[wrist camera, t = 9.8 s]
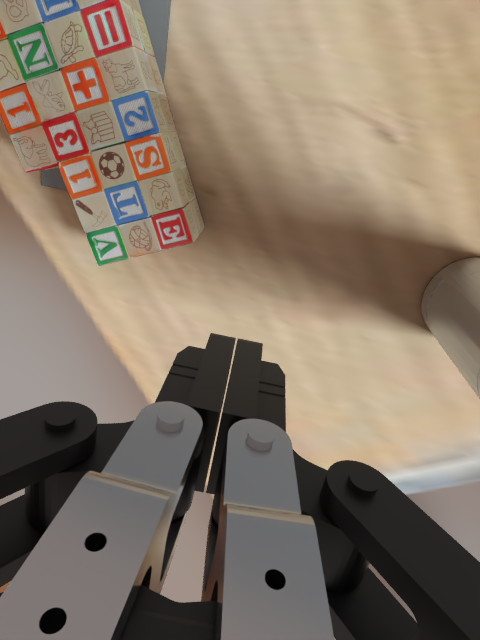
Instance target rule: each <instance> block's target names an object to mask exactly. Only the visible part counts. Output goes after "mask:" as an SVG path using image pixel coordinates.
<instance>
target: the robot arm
mask: <svg viewBox="0 0 480 640" xmlns="http://www.w3.org/2000/svg"><path fill="white" fill-rule="evenodd" d="M421 311H422V315H423V319H424V321H425V323H426V325H427V327H428V328H429V329H430V331H431V332H432V334H433V335H434V336H435V338H436V339H437V340H438V342H439V344H440V345H441V346H442V348H443V349H444V350H445V352H446V353H447V355H448V356H449V357H450V359H451V360H452V362H453V363H454V364H455V366H456V367H457V368H458V370H459V371H460V373H461V374H462V375H463V377H464V378H465V379H466V381H467V382H468V384H469V385H470V386H471V388H472V389H473V391H474V392H475V393H476V395H477V396H478V397H479V399H480V257H472V258H467V259H462V260H459V261H457V262H454V263H452V264H450V265H448V266H447V267H445V268H443V269H442V270H441V271H440V272H439V273H437V274H436V275H435V276H434V277H433V279H432V280H431V281H430V282H429V284H428V286H427V288H426V290H425V292H424V294H423V298H422V306H421ZM235 339H236V338H233V337H228V336H223V335H218V334H213V333H211V334H210V337H209V340H208V343H207V346H206V348H205V349H202V348H197V347H192V346H188V347H187V348H185V349H184V350H182V351H181V352H179V353H178V354H177V356H176V358H175V360H174V362H173V366H172V367H171V369H170V371H169V374H168V375H167V378H166V380H165V382H164V384H163V386H162V388H161V391H160V393H159V395H158V397H157V399H156V401H155V403H153V404H150V405H148V406H146V407H145V408H144V409H142V410H141V412H140V413H139V414H138V416H137V418H136V419H135V420H134V421H131V422H126V423H116V424H115V423H114V424H97V417H96V415H95V413H94V412H93V411H92V410H91V409H90V408H88V407H87V406H85V405H82V404H79V403H75V402H54V403H49V404H46V405H42V406H40V407H36V408H33V409H30V410H28V411H24V412H21V413H18V414H16V415H13V416H10V417H7V418H4V419H1V420H0V499H2V498H4V497H6V496H8V495H10V494H13V493H15V492H17V491H19V490H21V489H24V488H25V494H24V495H22V496H20V497H18V498H16V499H14V500H12V501H10V502H7V503H5V504H3V505H1V506H0V587H1V586H3V585H5V584H6V583H8V582H9V581H11V580H12V581H11V582H10V584H9V585H8V587H7V588H6V590H5V591H4V592H2V593H0V640H334V637H335V639H336V640H480V562H479V561H477V559H475V558H474V557H473V556H472V555H471V554H470V553H468V551H467V550H465V549H464V548H463V547H462V546H461V545H460V544H459V543H458V542H457V541H456V540H454V539H453V538H452V537H451V536H450V535H449V534H448V533H447V532H446V531H445V530H443V529H442V528H441V527H440V526H439V525H438V524H437V523H436V522H435V521H434V520H432V519H431V518H430V517H429V516H428V515H427V514H426V513H425V512H423V510H421V509H420V508H419V507H418V506H417V505H416V504H415V503H414V502H413V501H411V500H410V499H409V498H408V497H407V496H406V495H405V494H404V493H403V492H402V491H401V490H399V489H398V488H397V487H396V486H395V485H394V484H393V483H392V482H391V481H389V480H388V479H387V478H386V477H385V476H384V475H383V474H381V473H380V472H379V471H377V470H376V469H374V468H373V467H371V466H369V465H366V464H364V463H361V462H357V461H350V460H345V461H339V462H336V463H334V464H333V465H332V466H330V468H329V469H328V471H327V470H325V469H323V468H321V467H319V466H316V465H314V464H312V463H310V462H308V461H306V460H305V459H303V458H302V457H301V456H299V455H298V454H297V453H296V452H295V451H294V450H293V449H292V443H291V440H290V438H289V436H288V435H287V433H286V417H285V374H284V373H283V371H282V370H281V368H280V367H279V365H278V364H275V363H270V362H266V361H261V357H262V346H263V344H262V343H258V342H253V341H248V340H243V339H238V341H237V345H236V350H235V355H234V360H233V364H232V369H231V374H230V379H229V383H228V388H227V393H226V398H225V402H224V407H223V412H222V417H221V422H220V427H219V432H218V437H217V442H216V447H215V451H214V456H213V461H212V466H211V471H210V476H209V481H208V486H207V491H206V493H210V494H215V495H214V500H213V506H212V511H211V515H210V520H209V525H208V535H207V546H206V555H205V566H204V576H203V586H202V597H201V602H189V603H188V602H187V603H179V602H174V601H172V600H170V599H168V598H166V597H164V596H162V595H160V593H161V590H162V587H163V584H164V581H165V579H166V576H167V573H168V570H169V567H170V564H171V561H172V558H173V555H174V552H175V549H176V546H177V543H178V541H179V538H180V535H181V532H182V529H183V526H184V523H185V520H186V515H187V511H188V510H189V508H190V506H191V503H192V499H193V495H194V491H200V492H203V491H204V487H205V482H206V478H207V473H208V468H209V464H210V459H211V455H212V450H213V445H214V441H215V436H216V432H217V427H218V422H219V418H220V413H221V408H222V404H223V399H224V394H225V389H226V384H227V379H228V374H229V369H230V364H231V359H232V354H233V349H234V344H235ZM369 563H371V564H372V566H373V567H374V568H375V569H376V570H377V571H378V572H379V573H380V575H381V576H382V577H383V578H384V579H385V580H386V581H387V583H388V584H389V585H390V586H391V587H392V588H393V589H394V590H395V591H396V593H397V594H398V595H399V596H400V597H401V598H402V600H403V601H404V602H405V603H406V604H407V605H408V607H409V608H410V609H411V611H412V612H413V614H414V616H415V618H416V620H417V623H416V621H415V620H414V619H413V618H412V617H411V616H410V615H409V613H408V612H407V611H406V610H405V609H404V608H403V607H402V605H401V604H400V603H399V602H398V601H397V600H396V599H395V597H394V596H393V595H392V594H391V593H390V592H389V590H388V589H387V588H386V587H385V586H384V585H383V584H382V583H381V581H380V580H379V579H378V578H377V577H376V576H375V574H374V573H373V572H372V571H371V570H370V569H369V568H368V566H369Z"/></svg>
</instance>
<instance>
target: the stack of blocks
mask: <svg viewBox="0 0 480 640" xmlns="http://www.w3.org/2000/svg"><path fill="white" fill-rule="evenodd" d="M0 114H1V117H2V119H3V122H4V124H5V126H6V128H7V130H8V133H9V134H10V138H11V140H12V143H13V145H14V147H15V150H16V152H17V154H18V157H19V159H20V161H21V164H22V166H23V168H24V171H25V172H32V171H37V170H43V169H44V170H48V169H55V168H60V172H61V175H62V177H63V180H64V182H65V185H66V187H67V190H68V193H69V195H70V197H71V199H72V202H73V205H74V207H75V210H76V212H77V215H78V217H79V219H80V222H81V225H82V227H83V229H84V232H85V233H86V234H87V238H88V241H89V243H90V246H91V248H92V251H93V253H94V256H95V258H96V261H97V264H98V265H99V266H102V265H106V264H110V263H114V262H118V261H122V260H126V259H129V258H130V257H136V256H141V255H145V254H149V253H154V252H158V251H161V250H162V249H168V248H173V247H177V246H182V245H186V244H189V243H193V242H194V241H195V240H196V239H197V238H198V236H199V234H200V233H201V232H202V231H203V229H204V228H205V227H204V223H203V219H202V216H201V212H200V209H199V205H198V202H197V199H196V196H195V192H194V189H193V186H192V182H191V179H190V175H189V172H188V168H187V166H186V162H185V158H184V155H183V151H182V148H181V145H180V141H179V138H178V135H177V132H176V128H175V125H174V121H173V118H172V114H171V111H170V108H169V104H168V100H167V97H166V92H165V89H164V85H163V82H162V79H161V75H160V72H159V68H158V65H157V62H156V59H155V55H154V51H153V47H152V44H151V41H150V37H149V34H148V30H147V27H146V23H145V20H144V18H143V16H142V11H141V7H140V4H139V1H138V0H0Z"/></svg>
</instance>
